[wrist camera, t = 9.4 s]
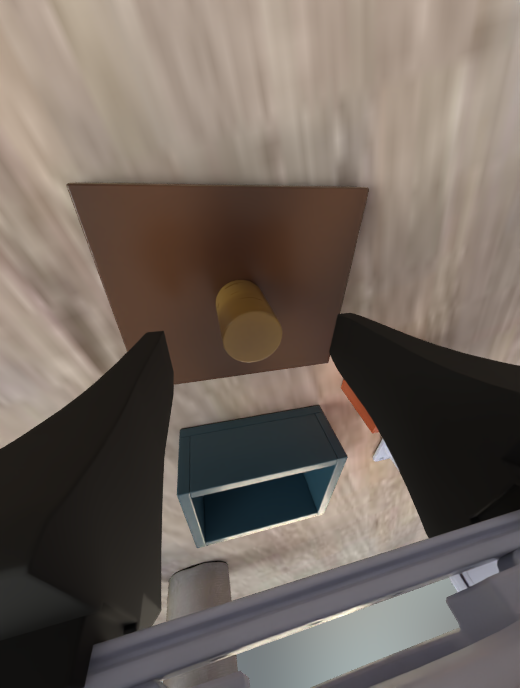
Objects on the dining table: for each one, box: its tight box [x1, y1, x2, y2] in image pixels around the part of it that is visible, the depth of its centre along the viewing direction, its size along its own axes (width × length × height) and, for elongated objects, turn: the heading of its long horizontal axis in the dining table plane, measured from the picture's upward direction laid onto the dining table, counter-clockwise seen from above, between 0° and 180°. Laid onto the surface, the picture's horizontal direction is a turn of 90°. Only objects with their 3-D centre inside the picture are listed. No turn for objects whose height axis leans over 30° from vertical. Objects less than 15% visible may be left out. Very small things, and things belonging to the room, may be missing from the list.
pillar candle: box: [163, 562, 238, 688], centre depth 35 cm, size 10×10×15 cm
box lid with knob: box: [67, 183, 369, 384], centre depth 12 cm, size 13×11×5 cm
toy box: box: [177, 405, 347, 548], centre depth 21 cm, size 12×10×5 cm
